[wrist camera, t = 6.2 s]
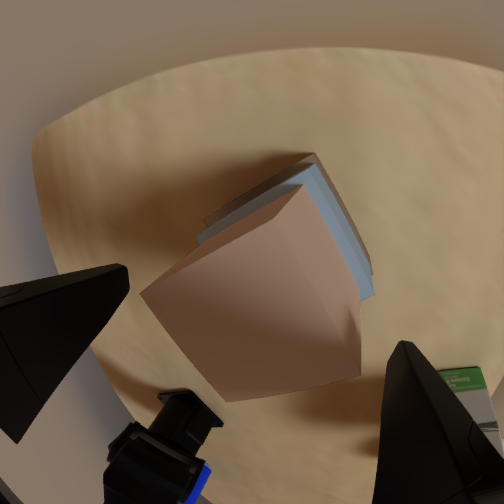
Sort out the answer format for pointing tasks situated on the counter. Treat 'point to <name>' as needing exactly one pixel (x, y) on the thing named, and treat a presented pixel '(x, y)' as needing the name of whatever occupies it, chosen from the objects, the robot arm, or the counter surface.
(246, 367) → the cube
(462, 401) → the ink box
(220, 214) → the tower base
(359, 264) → the tower top
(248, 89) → the counter surface
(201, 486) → the beverage can
